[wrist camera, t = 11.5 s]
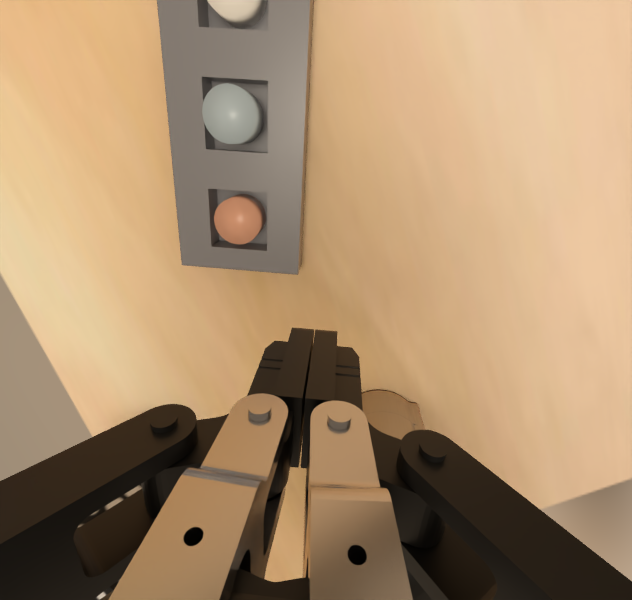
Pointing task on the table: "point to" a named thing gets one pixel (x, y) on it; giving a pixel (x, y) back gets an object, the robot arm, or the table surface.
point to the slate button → (232, 114)
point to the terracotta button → (240, 218)
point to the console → (239, 159)
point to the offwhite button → (239, 11)
